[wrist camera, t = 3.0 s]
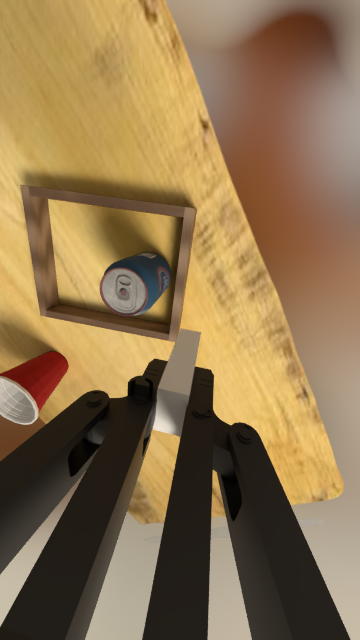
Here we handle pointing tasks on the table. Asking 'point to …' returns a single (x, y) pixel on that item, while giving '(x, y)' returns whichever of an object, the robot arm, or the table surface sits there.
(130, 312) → the soda can
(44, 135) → the table surface
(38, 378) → the plastic cup
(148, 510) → the table surface
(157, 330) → the walnut tray frame
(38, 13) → the table surface
